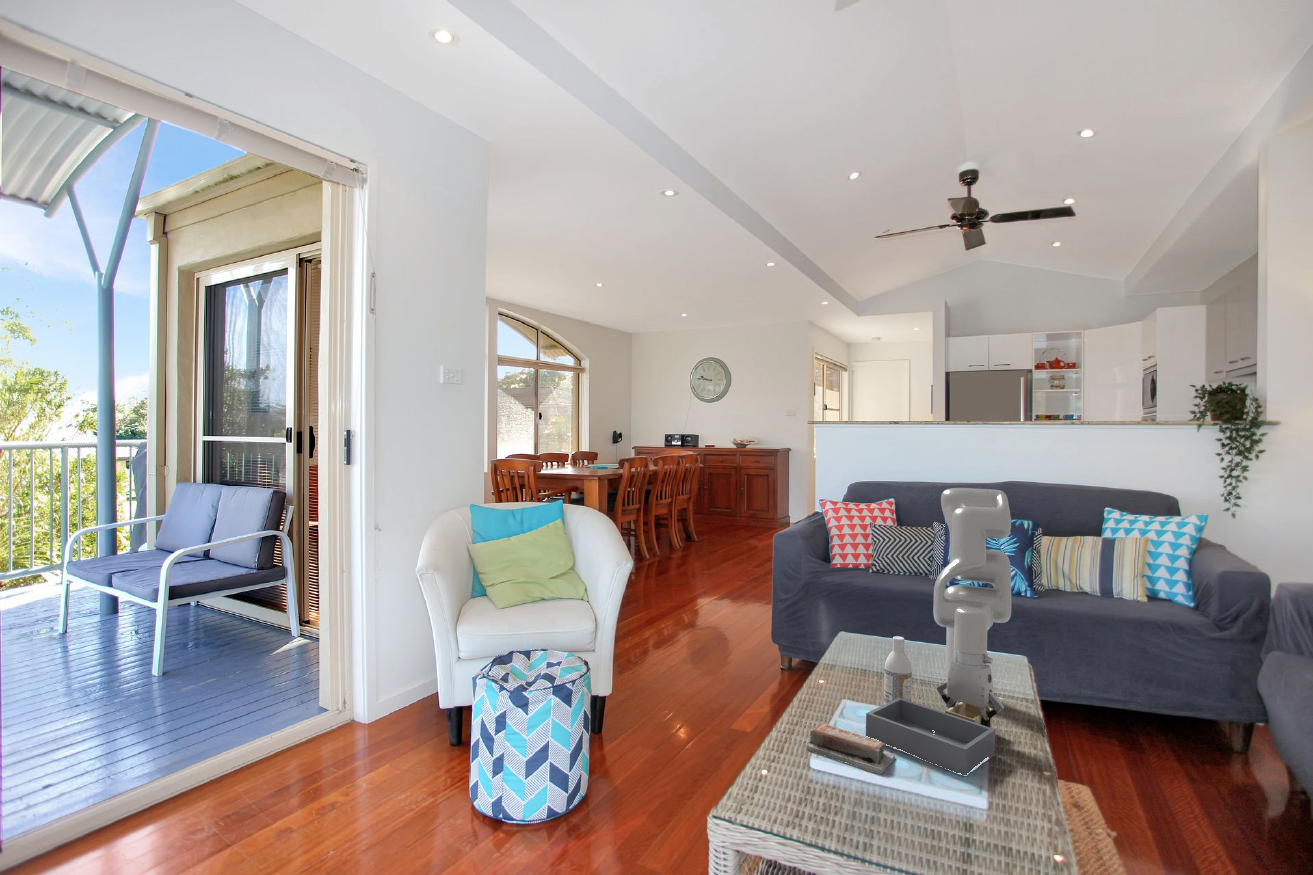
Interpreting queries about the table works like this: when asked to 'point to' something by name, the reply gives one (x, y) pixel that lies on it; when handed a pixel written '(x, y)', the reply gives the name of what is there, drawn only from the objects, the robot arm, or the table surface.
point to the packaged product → (850, 748)
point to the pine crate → (967, 712)
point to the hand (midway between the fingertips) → (968, 727)
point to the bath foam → (897, 673)
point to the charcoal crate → (931, 735)
